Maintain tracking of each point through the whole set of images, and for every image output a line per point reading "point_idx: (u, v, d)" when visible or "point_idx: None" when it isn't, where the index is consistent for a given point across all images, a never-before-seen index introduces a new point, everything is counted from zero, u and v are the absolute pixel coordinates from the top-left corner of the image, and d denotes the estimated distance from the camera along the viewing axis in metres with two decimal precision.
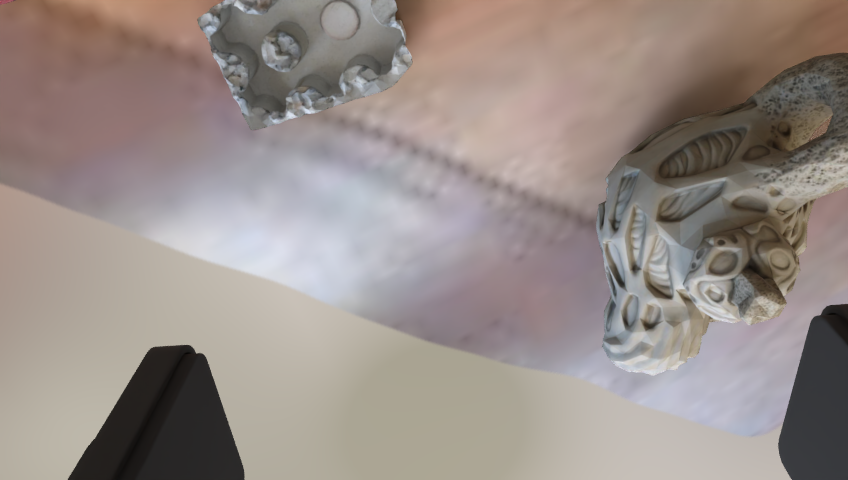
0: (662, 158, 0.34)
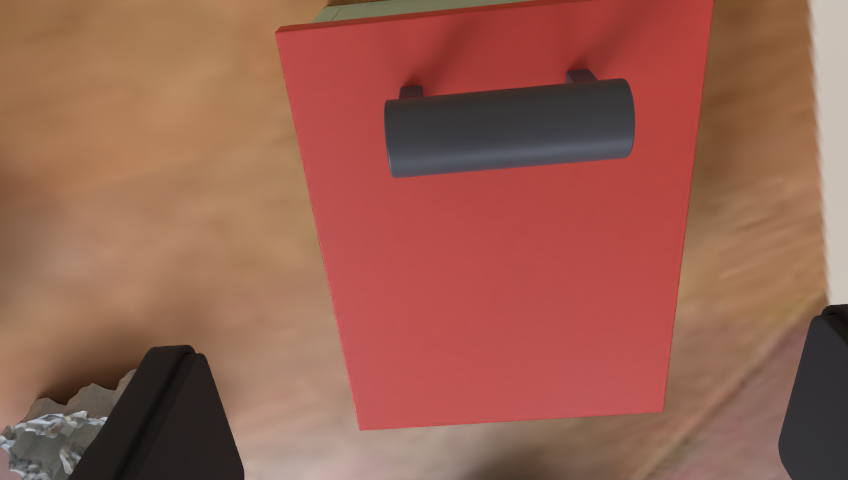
0: None
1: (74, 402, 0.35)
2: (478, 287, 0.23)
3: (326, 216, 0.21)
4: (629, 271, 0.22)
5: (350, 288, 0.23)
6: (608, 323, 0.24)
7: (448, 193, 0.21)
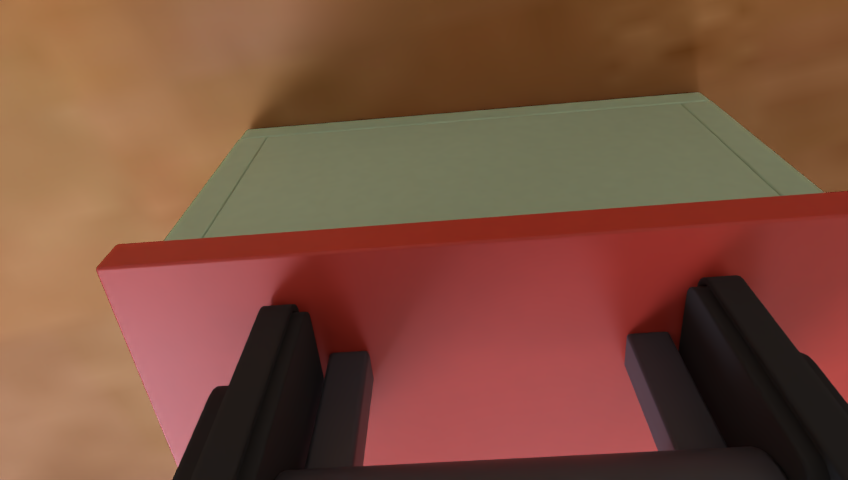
0: None
1: None
2: None
3: None
4: None
5: None
6: None
7: None
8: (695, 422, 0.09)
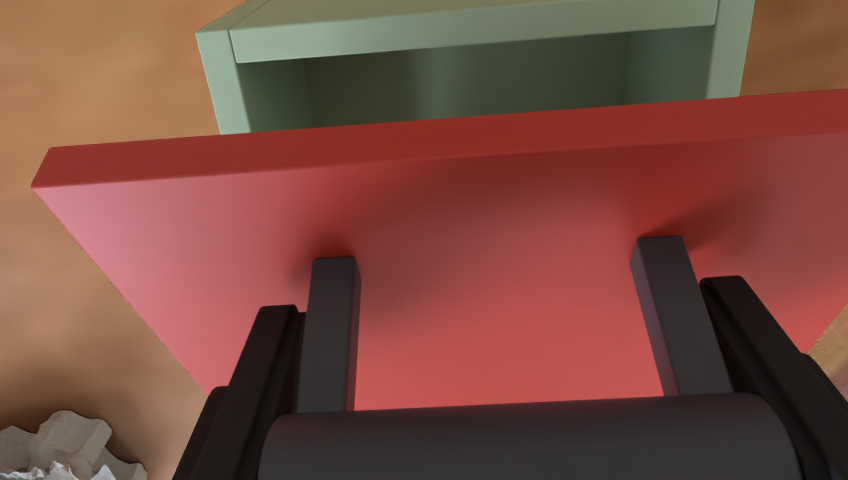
0: None
1: None
2: None
3: (216, 382, 0.13)
4: None
5: None
6: None
7: (409, 362, 0.13)
8: (701, 355, 0.08)
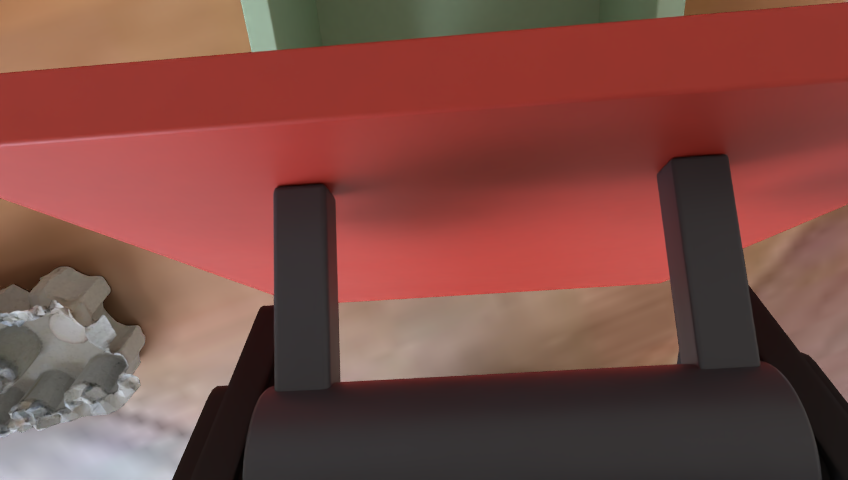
0: None
1: None
2: (445, 265, 0.15)
3: (185, 255, 0.12)
4: None
5: (254, 275, 0.15)
6: (622, 266, 0.17)
7: (395, 237, 0.12)
8: (730, 319, 0.07)
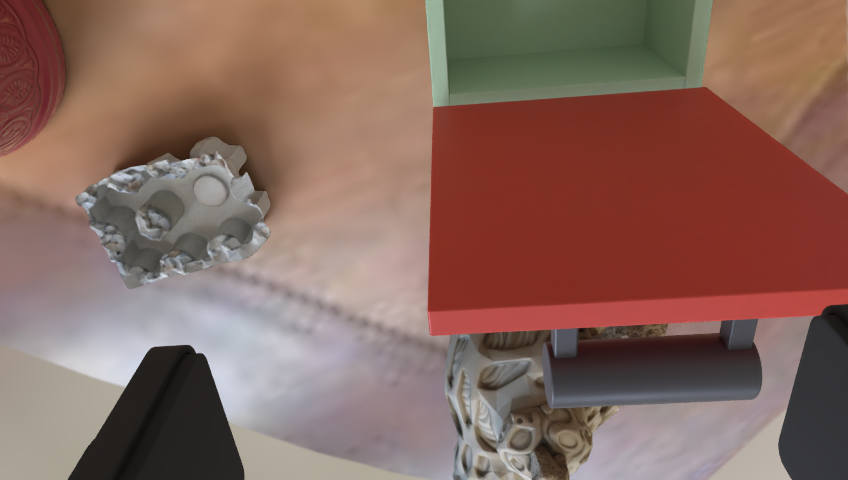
0: None
1: (154, 161, 0.38)
2: None
3: None
4: None
5: None
6: None
7: None
8: (745, 334, 0.18)
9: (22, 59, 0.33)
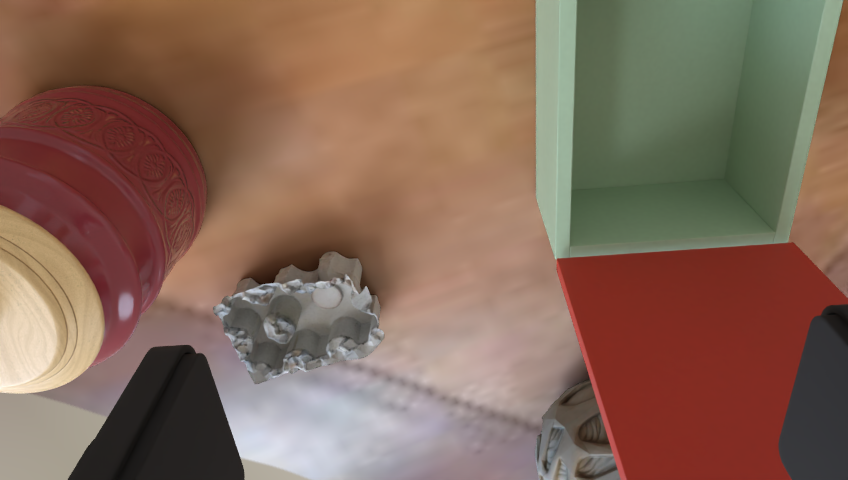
0: (582, 422, 0.43)
1: (283, 276, 0.43)
2: None
3: None
4: None
5: None
6: None
7: None
8: None
9: (185, 206, 0.38)
